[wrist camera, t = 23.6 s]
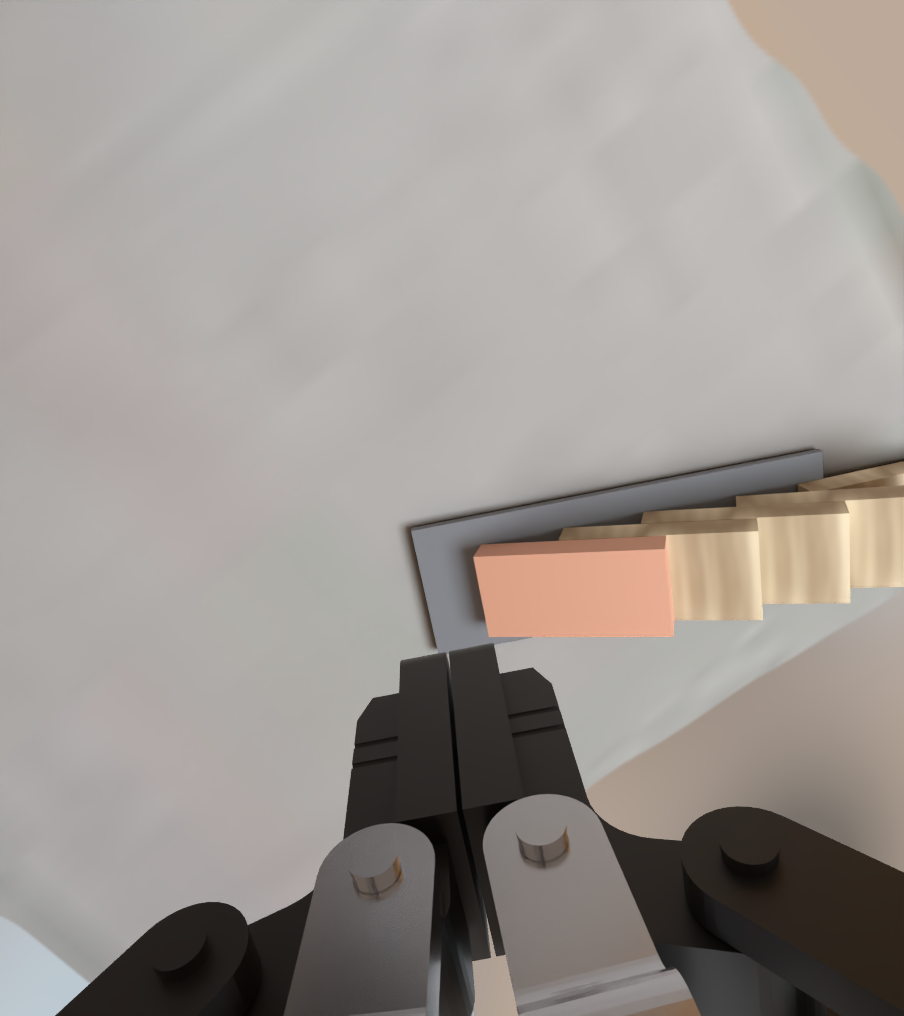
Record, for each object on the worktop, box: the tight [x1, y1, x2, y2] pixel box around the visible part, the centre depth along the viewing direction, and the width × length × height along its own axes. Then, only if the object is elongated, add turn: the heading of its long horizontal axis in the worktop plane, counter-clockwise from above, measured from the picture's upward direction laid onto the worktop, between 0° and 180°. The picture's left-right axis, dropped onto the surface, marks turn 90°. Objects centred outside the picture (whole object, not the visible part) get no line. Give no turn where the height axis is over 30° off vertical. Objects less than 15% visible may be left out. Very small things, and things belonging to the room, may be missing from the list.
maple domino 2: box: [641, 501, 850, 604], centre depth 40 cm, size 2×5×10 cm
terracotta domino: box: [473, 536, 675, 637], centre depth 40 cm, size 2×5×10 cm
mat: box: [411, 449, 823, 654], centre depth 43 cm, size 23×8×1 cm, turn 101°
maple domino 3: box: [797, 461, 904, 492], centre depth 42 cm, size 2×5×10 cm
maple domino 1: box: [559, 519, 763, 620], centre depth 40 cm, size 2×5×10 cm
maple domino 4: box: [736, 485, 904, 588], centre depth 40 cm, size 2×5×10 cm
